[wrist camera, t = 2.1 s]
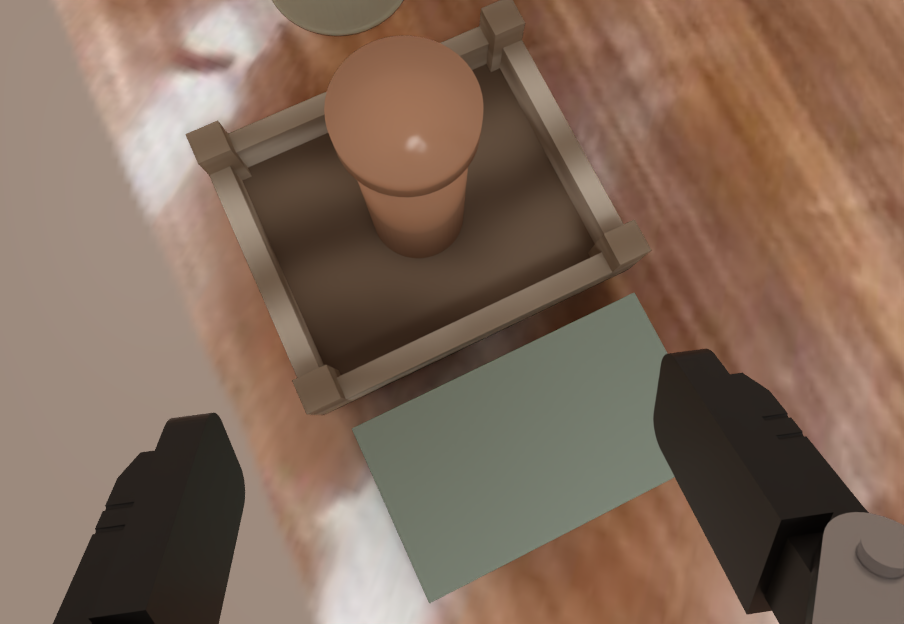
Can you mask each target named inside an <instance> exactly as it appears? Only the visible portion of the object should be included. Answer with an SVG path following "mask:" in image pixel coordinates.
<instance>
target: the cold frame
mask: <svg viewBox="0 0 904 624" xmlns="http://www.w3.org/2000/svg"><path fill="white" fill-rule="evenodd" d="M524 26H525V22H524V20H523V18H522V16H521V14H520V13H519V11H518V9H517V7H516V5H515V4H514V2H513V0H500V1H498V2H495V3H493V4H491V5H488V6H486V7H484V8H481V14H480V26H479V27H477V28H474V29H472V30H470V31H467V32H465V33H463V34H460V35H458V36H456V37H453V38H451V39H449V40H446V41H444V42H442V43H441V44H443V45H444V46H446V47H448V48H450V49H451V50H453V51H454V52H455V53H457V54H458V55H459V56H460V57H461V58H462V59H463V60H464V61H465V62H466V63H467V64H468V66H469V67H470V68H471V70H472V71H473V73H474V75H475V76H476V78H477V81H478V83H479V85H480V89H481V92H482V97H483V121H482V129H481V136H480V142H479V146H478V149H477V152H476V154H475V156H474V158H473V160H472V162H471V163H470V165H469V166H468V174H467V185H466V196H465V208H464V219H463V225H462V228H461V231H460V233H459V235H458V236H457V238H456V240H455V241H454V242H453V243H452V244H451V245H450V246H449V247H448V248H447V249H445V250H444V251H442V252H441V253H439V254H436V255H434V256H431V257H426V258H410V257H405V256H402V255H400V254H397V253H396V252H394V251H392V250H391V249H389V248H388V247H387V246H386V245H385V244H384V243H383V242H382V240H381V239H380V238H379V236H378V234H377V232H376V230H375V227H374V224H373V222H372V219H371V216H370V213H369V211H368V208H367V205H366V202H365V200H364V197H363V194H362V192H361V189H360V186H359V183H358V181H357V180H356V179H355V178H354V177H353V176H352V175H351V174H350V173H349V172H348V171H347V170H346V168H345V167H344V166H343V164H342V163H341V161H340V159H339V157H338V155H337V153H336V150H335V148H334V146H333V143H332V141H331V138H330V136H329V133H328V130H327V126H326V122H325V114H324V106H325V97H326V93H327V92H325V93H322V94H320V95H318V96H315V97H313V98H311V99H308V100H306V101H304V102H301V103H299V104H297V105H294V106H292V107H290V108H287V109H285V110H283V111H280V112H278V113H276V114H273V115H271V116H269V117H266V118H264V119H262V120H259V121H257V122H255V123H252V124H250V125H248V126H245V127H243V128H241V129H238V130H236V131H234V132H231V133H229V134H228V133H227V132H226V131H225V130H224V128H223V127H222V126H221V124H220V123H219V122H218V121H216V122H213V123H211V124H209V125H206V126H204V127H202V128H199V129H197V130H194V131H192V132H190V133H187V134H186V137H187V139H188V141H189V143H190V146H191V148H192V150H193V153H194V155H195V157H196V160H197V162H198V164H199V165H200V166H201V167H202V168H203V169H204V170H205V171H206V172H207V173H208V174H209V176H210V178H211V180H212V182H213V185H214V187H215V189H216V192H217V194H218V196H219V199H220V201H221V203H222V205H223V208H224V210H225V212H226V215H227V217H228V219H229V222H230V224H231V226H232V228H233V231H234V233H235V235H236V238H237V240H238V242H239V245H240V247H241V249H242V251H243V254H244V256H245V258H246V261H247V263H248V265H249V268H250V270H251V272H252V274H253V277H254V279H255V281H256V284H257V286H258V288H259V291H260V293H261V295H262V297H263V300H264V302H265V304H266V307H267V309H268V311H269V314H270V316H271V318H272V320H273V323H274V325H275V327H276V330H277V332H278V334H279V337H280V339H281V341H282V344H283V346H284V348H285V350H286V353H287V355H288V357H289V360H290V362H291V364H292V367H293V369H294V371H295V373H296V376H297V378H296V379H294V380H292V382H293V384H294V386H295V388H296V391H297V393H298V395H299V398H300V400H301V402H302V405H303V407H304V409H305V412H306V414H310V415H325V414H327V413H329V412H331V411H333V410H335V409H337V408H339V407H341V406H343V405H346V404H348V403H350V402H352V401H354V400H356V399H358V398H360V397H362V396H364V395H367V394H369V393H371V392H373V391H375V390H377V389H379V388H381V387H383V386H385V385H387V384H390V383H392V382H394V381H396V380H398V379H400V378H402V377H404V376H406V375H408V374H410V373H413V372H415V371H417V370H419V369H421V368H423V367H425V366H427V365H429V364H431V363H434V362H436V361H438V360H440V359H442V358H444V357H446V356H448V355H450V354H452V353H454V352H457V351H459V350H461V349H463V348H465V347H467V346H469V345H471V344H473V343H475V342H477V341H480V340H482V339H484V338H486V337H488V336H490V335H492V334H494V333H496V332H498V331H501V330H503V329H505V328H507V327H509V326H511V325H513V324H515V323H517V322H519V321H521V320H524V319H526V318H528V317H530V316H532V315H534V314H536V313H538V312H540V311H542V310H544V309H547V308H549V307H551V306H553V305H555V304H557V303H559V302H561V301H563V300H565V299H568V298H570V297H572V296H574V295H576V294H578V293H580V292H582V291H584V290H586V289H588V288H591V287H593V286H595V285H597V284H599V283H601V282H603V281H605V280H607V279H609V278H612V277H614V276H616V275H618V274H620V273H622V272H624V271H626V270H628V269H629V268H631V267H632V266H633V265H634V264H635V263H637V262H638V261H639V260H640V259H641V258H643V257H644V256H645V255H646V254H647V253H649V252H650V251H651V248H650V247H649V245H648V243H647V241H646V239H645V238H644V236H643V234H642V232H641V230H640V229H639V227H638V225H637V223H636V221H635V220H632V221H630V222H628V223H626V224H623V222H622V221H621V219H620V217H619V215H618V213H617V212H616V210H615V208H614V206H613V204H612V203H611V201H610V199H609V197H608V195H607V193H606V192H605V190H604V188H603V186H602V184H601V183H600V181H599V179H598V177H597V175H596V174H595V172H594V170H593V168H592V166H591V164H590V163H589V161H588V159H587V157H586V155H585V154H584V152H583V150H582V148H581V146H580V144H579V143H578V141H577V139H576V137H575V135H574V134H573V132H572V130H571V128H570V126H569V125H568V123H567V121H566V119H565V117H564V115H563V114H562V112H561V110H560V108H559V106H558V105H557V103H556V101H555V99H554V97H553V96H552V94H551V92H550V90H549V88H548V86H547V85H546V83H545V81H544V79H543V77H542V76H541V74H540V72H539V70H538V68H537V67H536V65H535V63H534V61H533V59H532V57H531V56H530V54H529V52H528V50H527V48H526V47H525V45H524V43H523V41H522V36H523V31H524Z"/></svg>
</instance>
